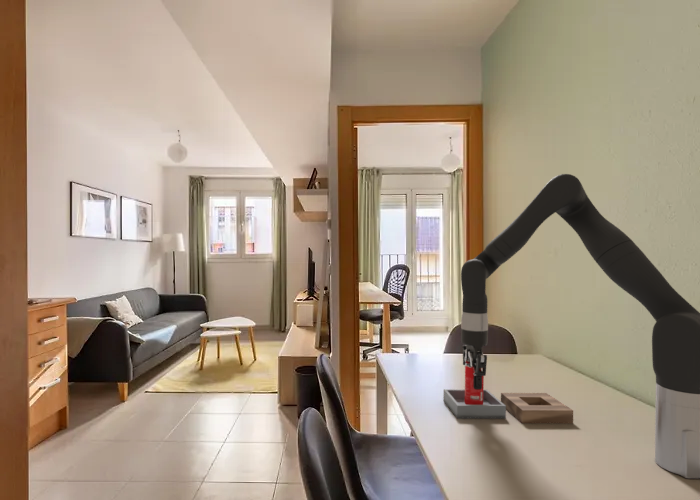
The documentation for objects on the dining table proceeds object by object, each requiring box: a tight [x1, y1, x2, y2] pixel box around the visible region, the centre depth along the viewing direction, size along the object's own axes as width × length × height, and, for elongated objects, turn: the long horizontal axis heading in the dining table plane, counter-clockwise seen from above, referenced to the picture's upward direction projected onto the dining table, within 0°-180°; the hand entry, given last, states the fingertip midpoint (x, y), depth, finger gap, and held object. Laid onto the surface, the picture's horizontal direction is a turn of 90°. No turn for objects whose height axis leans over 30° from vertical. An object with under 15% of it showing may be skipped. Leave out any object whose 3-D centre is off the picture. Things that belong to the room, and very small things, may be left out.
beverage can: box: [464, 363, 485, 405], centre depth 119 cm, size 5×5×12 cm
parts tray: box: [442, 388, 507, 420], centre depth 120 cm, size 14×14×4 cm
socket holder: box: [500, 392, 574, 424], centre depth 117 cm, size 14×14×4 cm
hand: (473, 385), depth 120 cm, fingers open, 6 cm apart
